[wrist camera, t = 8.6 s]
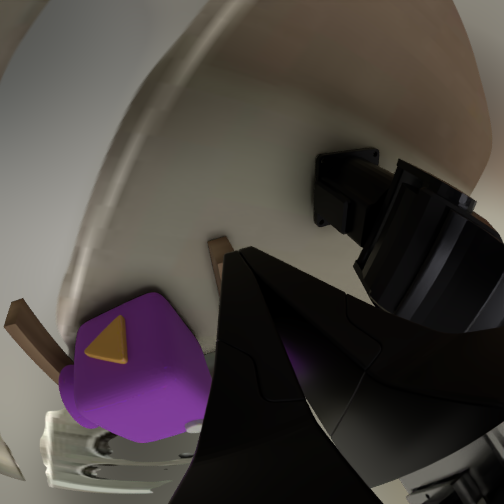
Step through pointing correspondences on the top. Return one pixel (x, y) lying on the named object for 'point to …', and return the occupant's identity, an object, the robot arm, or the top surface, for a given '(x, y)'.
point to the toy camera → (137, 373)
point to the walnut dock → (49, 352)
